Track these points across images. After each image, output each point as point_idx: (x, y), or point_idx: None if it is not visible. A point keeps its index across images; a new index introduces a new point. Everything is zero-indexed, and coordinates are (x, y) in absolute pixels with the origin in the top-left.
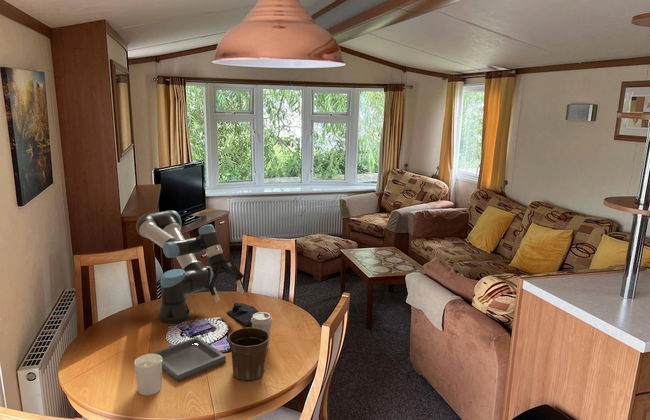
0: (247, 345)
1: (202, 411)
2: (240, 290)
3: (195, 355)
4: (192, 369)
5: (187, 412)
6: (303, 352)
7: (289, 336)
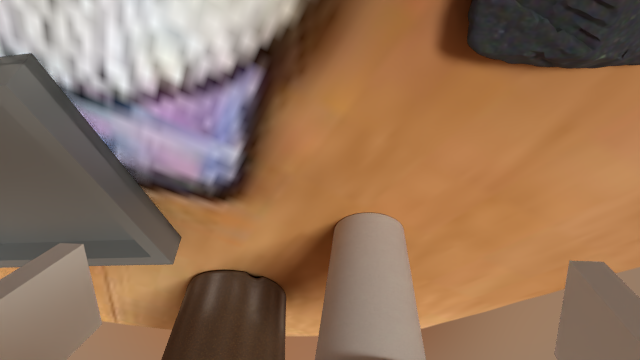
0: (240, 348)
1: None
2: (595, 348)
3: (36, 178)
4: None
5: None
6: (467, 299)
7: (547, 232)
